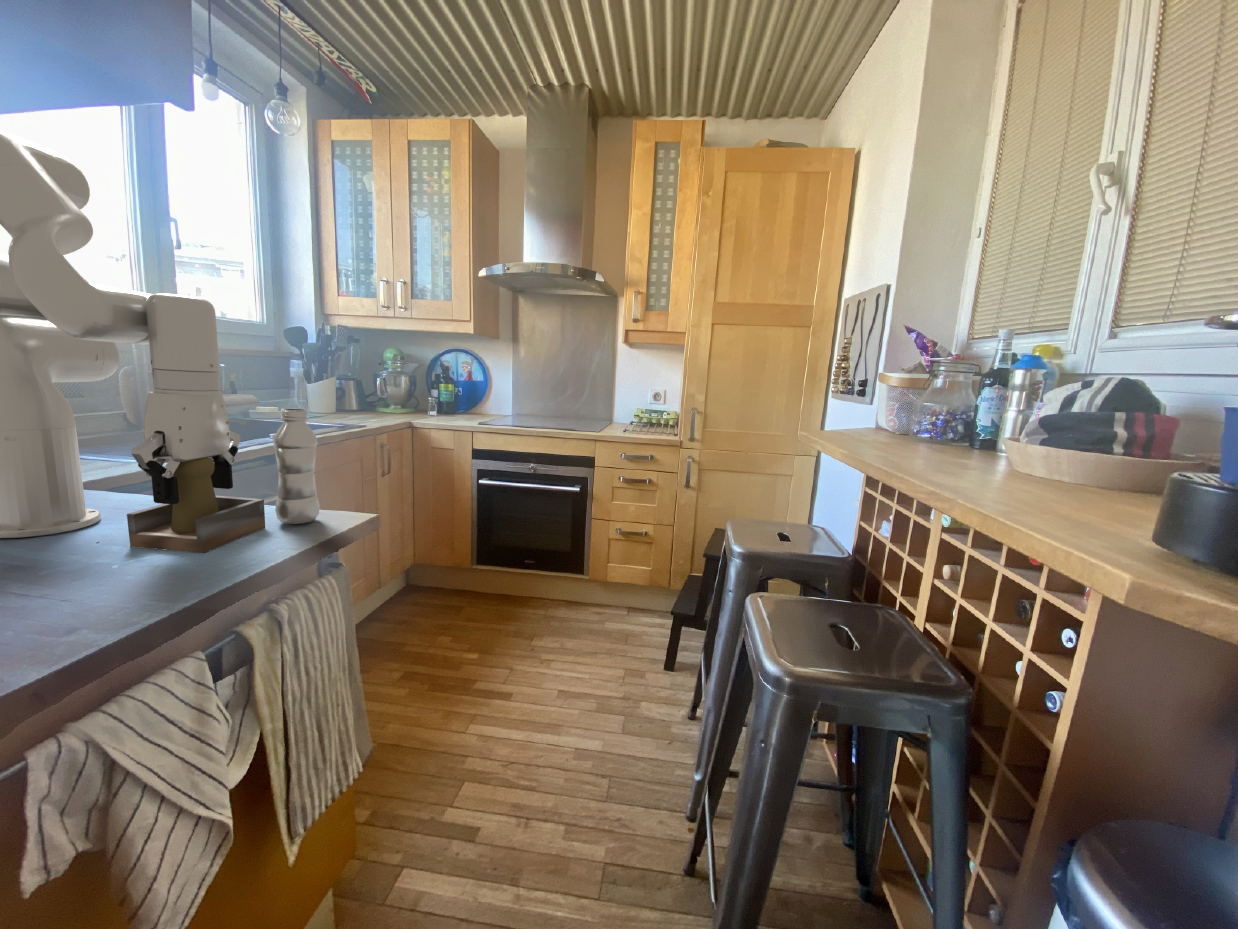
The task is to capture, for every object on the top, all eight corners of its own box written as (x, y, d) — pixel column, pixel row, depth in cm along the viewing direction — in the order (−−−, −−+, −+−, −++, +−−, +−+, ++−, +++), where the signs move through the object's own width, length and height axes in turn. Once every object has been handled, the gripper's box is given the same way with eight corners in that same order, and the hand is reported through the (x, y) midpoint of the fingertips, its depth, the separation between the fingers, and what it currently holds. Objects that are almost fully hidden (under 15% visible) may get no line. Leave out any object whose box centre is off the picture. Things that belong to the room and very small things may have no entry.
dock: (130, 547, 72) (126, 513, 71) (201, 522, 83) (199, 494, 82) (204, 553, 71) (202, 520, 71) (265, 527, 83) (263, 499, 82)
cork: (193, 534, 73) (187, 461, 71) (159, 528, 74) (153, 456, 72) (232, 522, 79) (227, 455, 77) (200, 518, 80) (195, 451, 78)
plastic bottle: (266, 526, 84) (260, 409, 80) (294, 515, 91) (289, 406, 87) (303, 530, 84) (298, 412, 80) (328, 518, 90) (325, 409, 87)
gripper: (211, 380, 81) (218, 481, 84) (100, 381, 64) (113, 508, 67) (256, 383, 81) (261, 485, 84) (156, 386, 64) (167, 512, 67)
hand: (196, 495), depth 76 cm, fingers open, 9 cm apart
